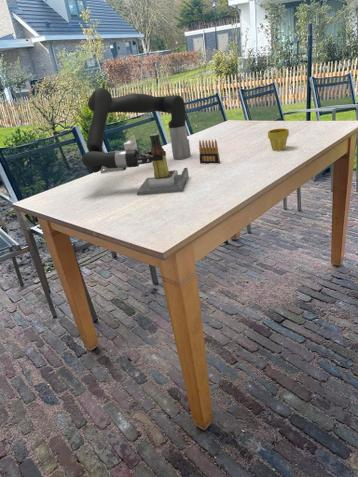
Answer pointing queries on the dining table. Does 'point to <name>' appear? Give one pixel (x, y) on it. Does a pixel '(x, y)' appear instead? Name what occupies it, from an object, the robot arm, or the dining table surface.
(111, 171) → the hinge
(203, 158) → the ammunition clip
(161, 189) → the plate
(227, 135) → the dining table surface
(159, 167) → the sauce bottle
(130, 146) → the ink cartridge box
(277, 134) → the plant pot
